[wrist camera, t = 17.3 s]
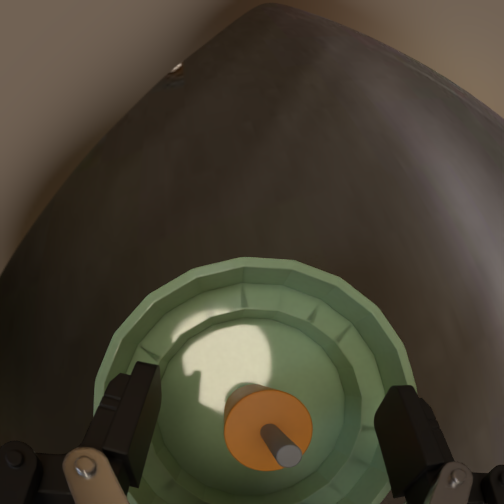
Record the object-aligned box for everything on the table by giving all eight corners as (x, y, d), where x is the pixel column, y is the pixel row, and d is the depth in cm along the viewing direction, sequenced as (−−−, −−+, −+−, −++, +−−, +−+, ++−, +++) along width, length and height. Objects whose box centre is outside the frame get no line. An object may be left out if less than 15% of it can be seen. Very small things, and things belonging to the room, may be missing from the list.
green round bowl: (170, 532, 14) (154, 578, 9) (107, 319, 19) (67, 297, 14) (389, 468, 17) (438, 489, 11) (328, 266, 22) (362, 228, 16)
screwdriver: (233, 445, 16) (244, 523, 6) (217, 392, 18) (207, 415, 7) (289, 429, 17) (362, 484, 7) (273, 377, 18) (333, 378, 8)
